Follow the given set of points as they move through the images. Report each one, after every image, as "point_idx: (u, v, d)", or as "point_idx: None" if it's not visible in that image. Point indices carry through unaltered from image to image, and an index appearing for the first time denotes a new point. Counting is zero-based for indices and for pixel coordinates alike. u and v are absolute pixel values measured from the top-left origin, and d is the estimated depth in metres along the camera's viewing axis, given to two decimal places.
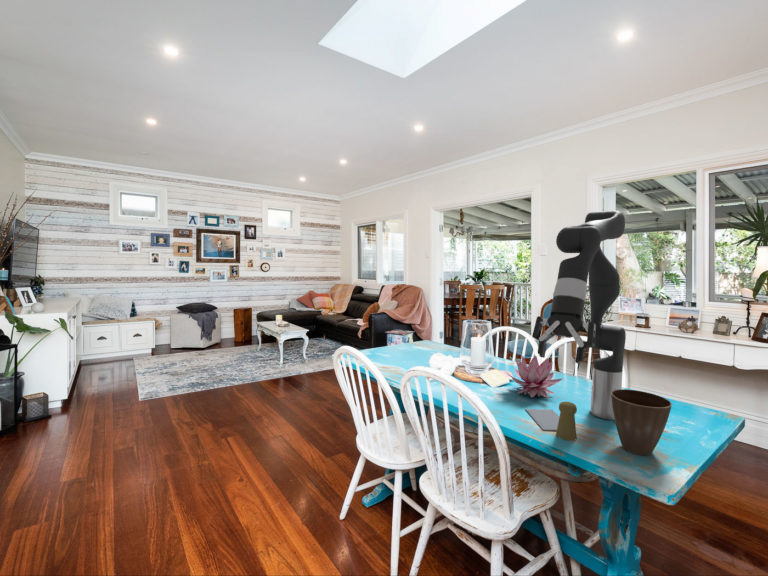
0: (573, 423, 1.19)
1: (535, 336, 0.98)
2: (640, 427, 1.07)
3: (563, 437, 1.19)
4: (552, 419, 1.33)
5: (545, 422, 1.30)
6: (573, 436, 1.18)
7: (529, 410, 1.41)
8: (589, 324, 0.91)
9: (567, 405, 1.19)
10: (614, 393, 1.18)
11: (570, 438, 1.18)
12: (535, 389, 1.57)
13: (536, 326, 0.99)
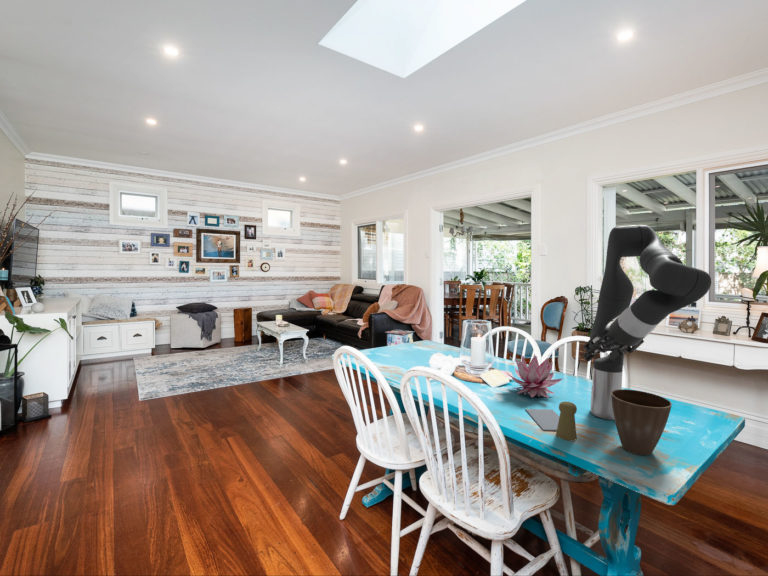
0: (573, 423, 1.19)
1: None
2: (640, 427, 1.07)
3: (563, 437, 1.19)
4: (552, 419, 1.33)
5: (545, 422, 1.30)
6: (573, 436, 1.18)
7: (529, 410, 1.41)
8: (640, 342, 1.00)
9: (567, 405, 1.19)
10: (614, 393, 1.18)
11: (570, 438, 1.18)
12: (535, 389, 1.57)
13: (594, 348, 1.00)
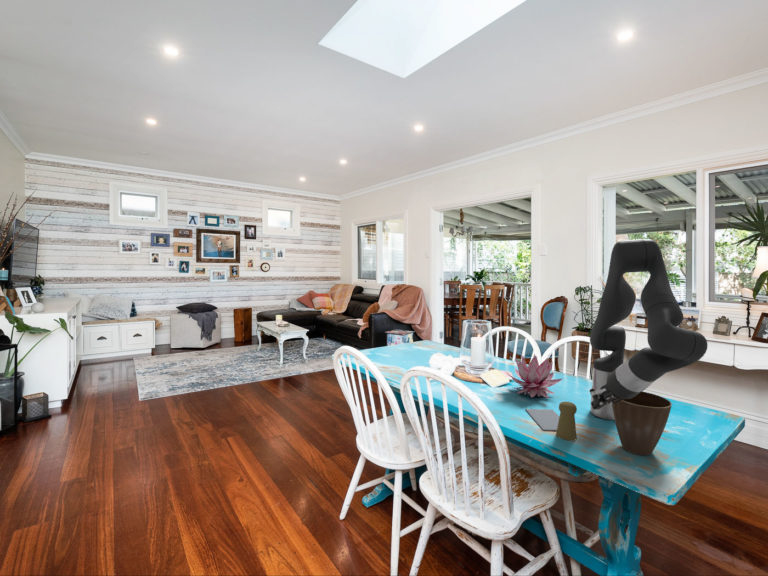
0: (573, 423, 1.19)
1: (598, 403, 1.04)
2: (640, 427, 1.07)
3: (563, 437, 1.19)
4: (552, 419, 1.33)
5: (545, 422, 1.30)
6: (573, 436, 1.18)
7: (529, 410, 1.41)
8: None
9: (567, 405, 1.19)
10: None
11: (570, 438, 1.18)
12: (535, 389, 1.57)
13: (596, 400, 1.02)
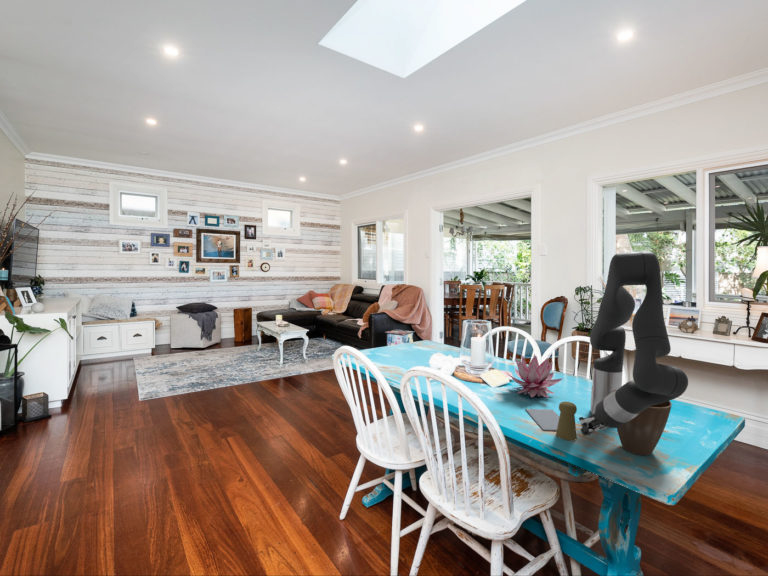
0: (573, 423, 1.19)
1: (587, 430, 1.08)
2: (640, 427, 1.07)
3: (563, 437, 1.19)
4: (552, 419, 1.33)
5: (545, 422, 1.30)
6: (573, 436, 1.18)
7: (529, 410, 1.41)
8: None
9: (567, 405, 1.19)
10: None
11: (570, 438, 1.18)
12: (535, 389, 1.57)
13: (585, 428, 1.07)
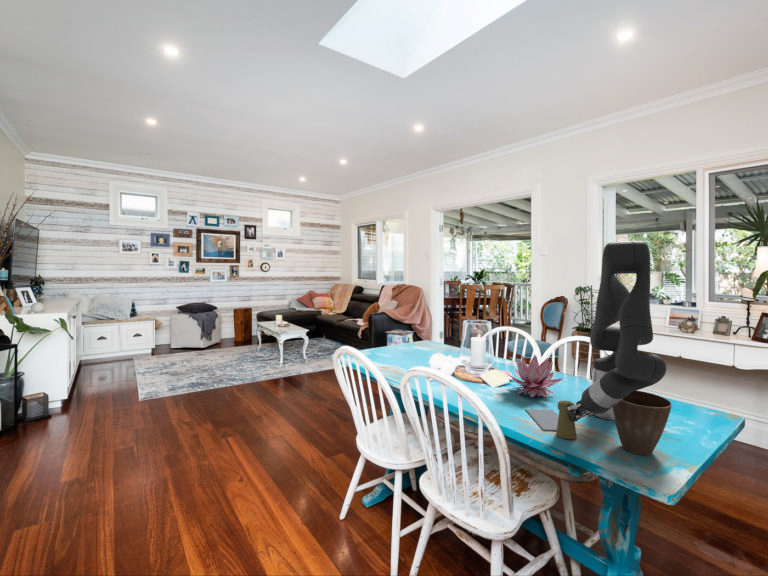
0: None
1: (574, 417, 1.14)
2: (640, 427, 1.07)
3: (563, 436, 1.19)
4: (552, 419, 1.33)
5: (545, 422, 1.30)
6: (573, 435, 1.19)
7: (529, 410, 1.41)
8: None
9: (565, 403, 1.20)
10: None
11: (570, 437, 1.18)
12: (535, 389, 1.57)
13: (572, 414, 1.12)
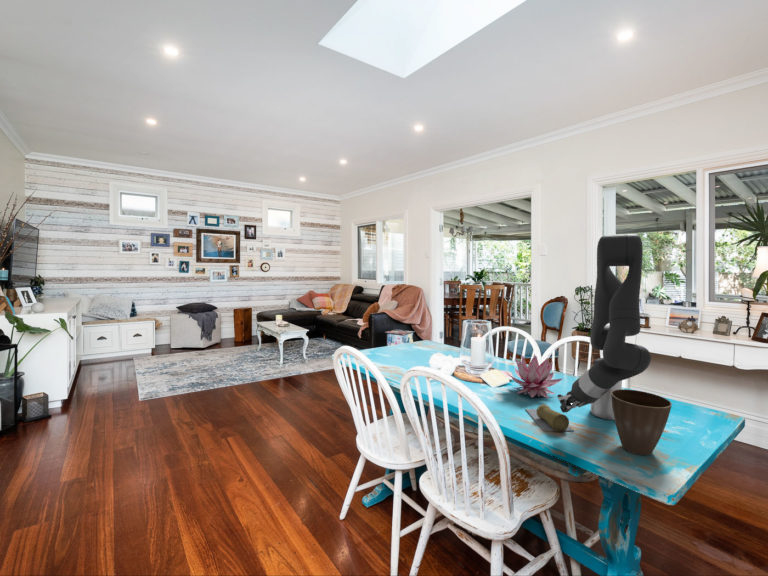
0: None
1: (565, 407, 1.18)
2: (640, 427, 1.07)
3: (553, 418, 1.24)
4: None
5: (545, 422, 1.30)
6: (559, 413, 1.25)
7: (529, 410, 1.41)
8: None
9: None
10: (614, 393, 1.18)
11: (558, 414, 1.24)
12: (535, 389, 1.57)
13: (563, 405, 1.16)
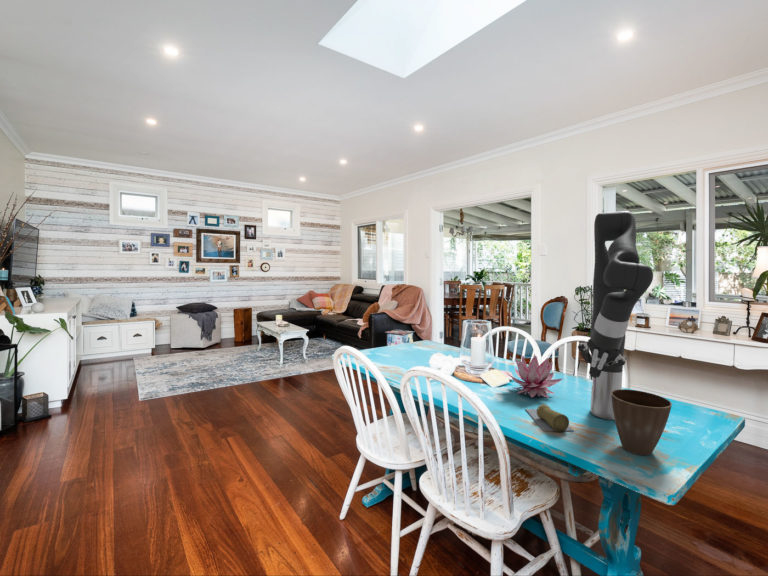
0: None
1: (588, 362, 1.11)
2: (640, 427, 1.07)
3: (553, 418, 1.24)
4: None
5: (545, 422, 1.30)
6: (559, 413, 1.25)
7: (529, 410, 1.41)
8: (620, 362, 1.05)
9: None
10: (614, 393, 1.18)
11: (558, 414, 1.24)
12: (535, 389, 1.57)
13: (583, 354, 1.11)
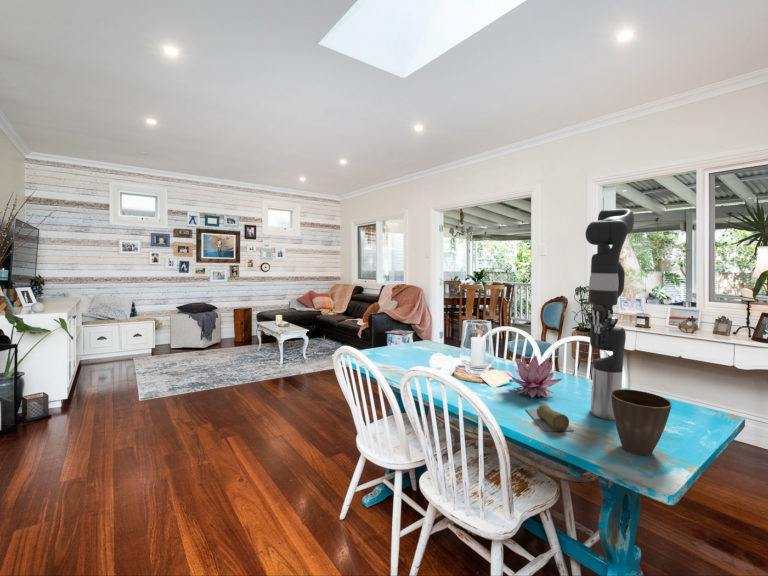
0: None
1: (592, 328, 1.15)
2: (640, 427, 1.07)
3: (553, 418, 1.24)
4: None
5: (545, 422, 1.30)
6: (559, 413, 1.25)
7: (529, 410, 1.41)
8: (607, 319, 1.07)
9: None
10: (614, 393, 1.18)
11: (558, 414, 1.24)
12: (535, 389, 1.57)
13: (590, 320, 1.17)
